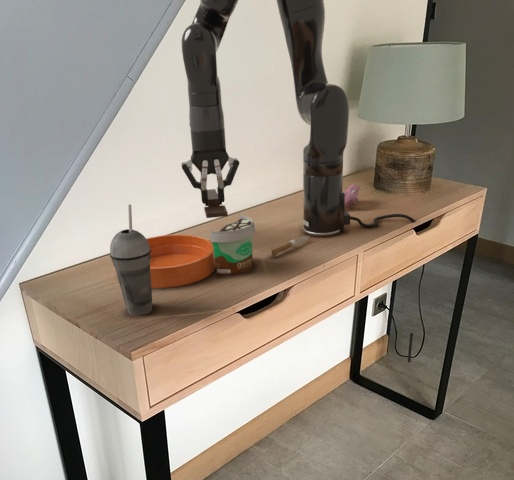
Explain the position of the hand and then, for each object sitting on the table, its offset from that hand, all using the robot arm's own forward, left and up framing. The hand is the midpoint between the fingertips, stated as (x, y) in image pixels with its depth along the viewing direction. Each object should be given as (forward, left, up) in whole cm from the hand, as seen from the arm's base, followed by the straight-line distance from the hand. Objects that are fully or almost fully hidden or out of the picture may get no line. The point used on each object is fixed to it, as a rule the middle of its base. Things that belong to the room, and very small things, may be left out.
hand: (213, 204), depth 136 cm
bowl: (+12, +16, -9) cm, 22 cm away
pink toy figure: (-38, -17, -9) cm, 43 cm away
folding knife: (-16, +11, -9) cm, 21 cm away
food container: (-3, +20, -9) cm, 22 cm away
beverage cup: (+18, +35, -9) cm, 40 cm away
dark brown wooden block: (0, 0, -1) cm, 1 cm away
